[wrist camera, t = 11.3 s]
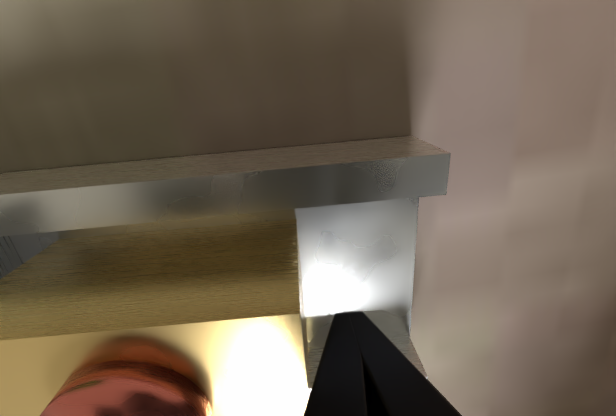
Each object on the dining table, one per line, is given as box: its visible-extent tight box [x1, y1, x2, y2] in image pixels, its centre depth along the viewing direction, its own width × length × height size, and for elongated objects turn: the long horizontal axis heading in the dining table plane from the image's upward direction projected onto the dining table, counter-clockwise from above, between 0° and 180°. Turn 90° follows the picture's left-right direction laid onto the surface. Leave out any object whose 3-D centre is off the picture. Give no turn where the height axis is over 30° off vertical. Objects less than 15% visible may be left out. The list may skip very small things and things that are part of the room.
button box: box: [0, 219, 311, 416], centre depth 8 cm, size 7×4×5 cm, turn 94°
